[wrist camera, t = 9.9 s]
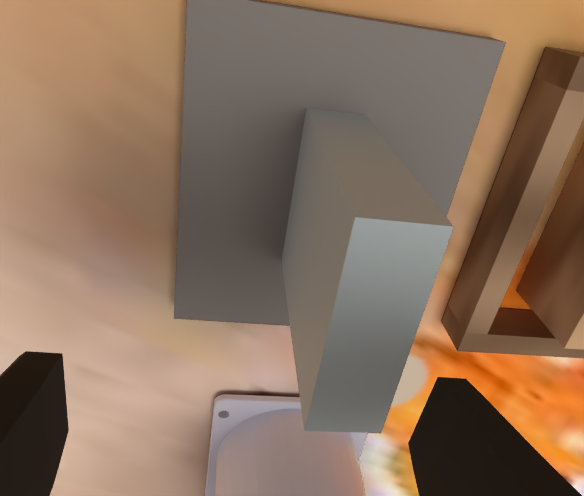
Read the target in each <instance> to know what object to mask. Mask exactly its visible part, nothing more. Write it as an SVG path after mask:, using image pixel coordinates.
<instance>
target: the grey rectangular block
mask: <svg viewBox="0 0 584 496" xmlns="http://www.w3.org/2000/svg"><path fill="white" fill-rule="evenodd" d="M452 230H453V225H452V224H451V223H450V221H449V220H448V219H447V218H446V216H445V215H444V214H443V213H442V211H441V210H440V209H439V208H438V206H437V205H436V204H435V203H434V201H433V200H432V199H431V198H430V196H429V195H428V194H427V192H426V191H425V190H424V189H423V187H422V186H421V185H420V184H419V182H418V181H417V180H416V179H415V177H414V176H413V175H412V174H411V172H410V171H409V170H408V169H407V167H406V166H405V165H404V163H403V162H402V161H401V160H400V158H399V157H398V156H397V155H396V153H395V152H394V151H393V150H392V148H391V147H390V146H389V145H388V143H387V142H386V141H385V140H384V138H383V137H382V136H381V134H380V133H379V132H378V131H377V129H376V128H375V127H374V126H373V124H372V123H371V122H370V121H369V119H368V118H367V117H366V116H365V115H361V114H354V113H346V112H338V111H330V110H323V109H315V108H306V114H305V120H304V126H303V132H302V139H301V145H300V151H299V157H298V163H297V169H296V175H295V182H294V188H293V194H292V200H291V206H290V212H289V218H288V225H287V231H286V237H285V243H284V249H283V255H282V261H281V262H282V269H283V276H284V284H285V291H286V299H287V306H288V313H289V321H290V328H291V336H292V343H293V351H294V358H295V365H296V373H297V380H298V388H299V395H300V403H301V410H302V417H303V425H304V431H321V432H358V433H381V432H382V429H383V426H384V423H385V420H386V418H387V415H388V412H389V409H390V406H391V403H392V401H393V398H394V395H395V392H396V389H397V386H398V384H399V381H400V378H401V375H402V372H403V369H404V366H405V364H406V361H407V358H408V355H409V352H410V349H411V347H412V344H413V341H414V338H415V335H416V332H417V329H418V327H419V324H420V321H421V318H422V315H423V312H424V310H425V307H426V304H427V301H428V298H429V295H430V292H431V290H432V287H433V284H434V281H435V278H436V275H437V273H438V270H439V267H440V264H441V261H442V258H443V256H444V253H445V250H446V247H447V244H448V241H449V238H450V236H451V233H452Z"/></svg>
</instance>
